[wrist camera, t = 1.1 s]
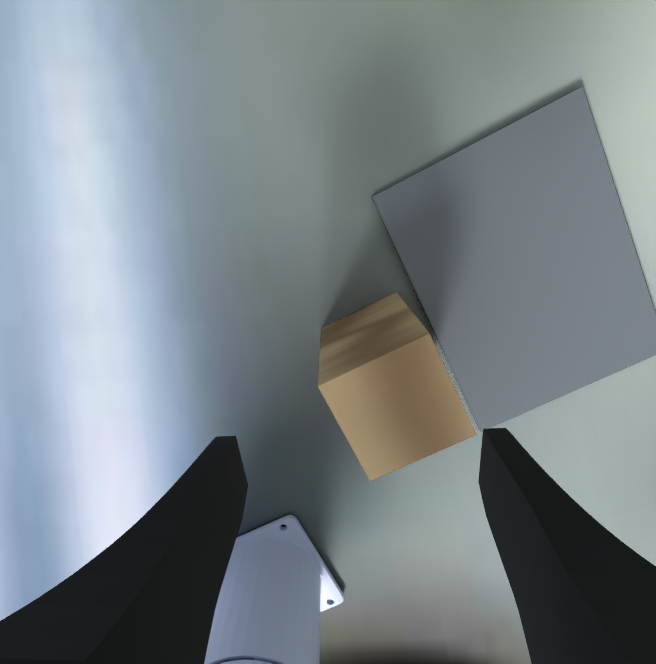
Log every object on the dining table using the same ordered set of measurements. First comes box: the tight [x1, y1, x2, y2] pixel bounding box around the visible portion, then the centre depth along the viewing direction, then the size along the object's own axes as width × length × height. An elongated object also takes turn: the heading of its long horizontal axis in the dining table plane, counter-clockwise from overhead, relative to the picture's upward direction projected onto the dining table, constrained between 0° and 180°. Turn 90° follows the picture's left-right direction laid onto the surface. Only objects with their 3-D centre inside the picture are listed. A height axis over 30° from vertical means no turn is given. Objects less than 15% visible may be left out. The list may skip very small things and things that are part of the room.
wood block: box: [318, 292, 477, 481], centre depth 23 cm, size 5×5×9 cm
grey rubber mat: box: [372, 86, 656, 431], centre depth 26 cm, size 12×16×1 cm
